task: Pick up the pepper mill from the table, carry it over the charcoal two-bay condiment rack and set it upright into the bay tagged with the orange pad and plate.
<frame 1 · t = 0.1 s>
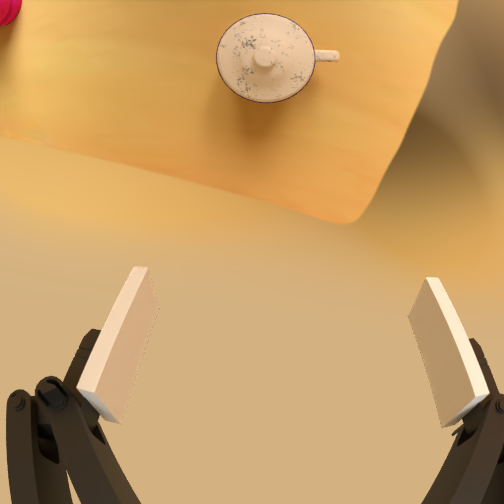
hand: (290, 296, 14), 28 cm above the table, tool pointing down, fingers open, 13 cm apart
pepper mill: (10, 7, 23), on the table
teacup with lid: (279, 57, 31), on the table
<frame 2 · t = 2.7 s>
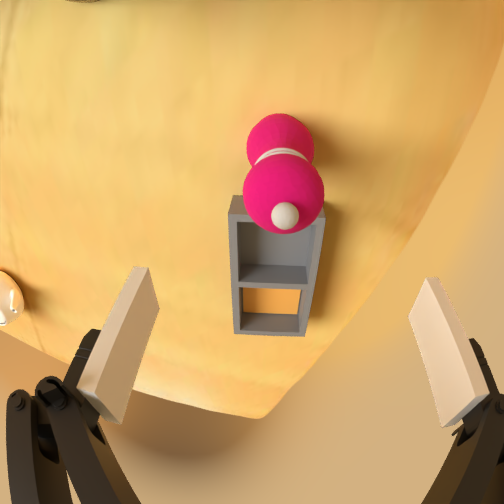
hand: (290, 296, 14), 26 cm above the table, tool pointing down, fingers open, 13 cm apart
pepper mill: (279, 137, 35), on the table
condiment rack: (273, 263, 46), on the table
teapot: (10, 285, 56), on the table
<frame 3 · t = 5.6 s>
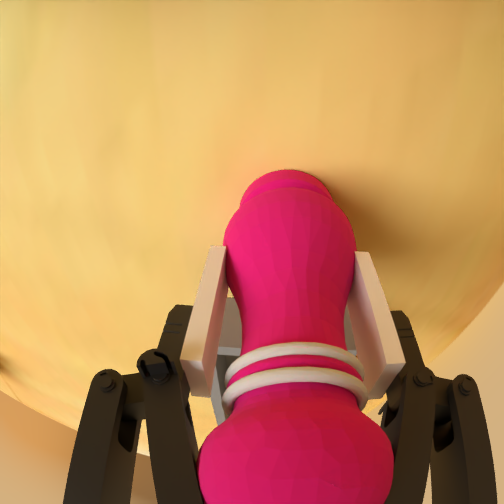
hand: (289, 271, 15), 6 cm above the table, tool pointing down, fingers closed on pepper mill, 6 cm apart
pepper mill: (286, 211, 20), on the table, touching gripper
condiment rack: (272, 371, 31), on the table
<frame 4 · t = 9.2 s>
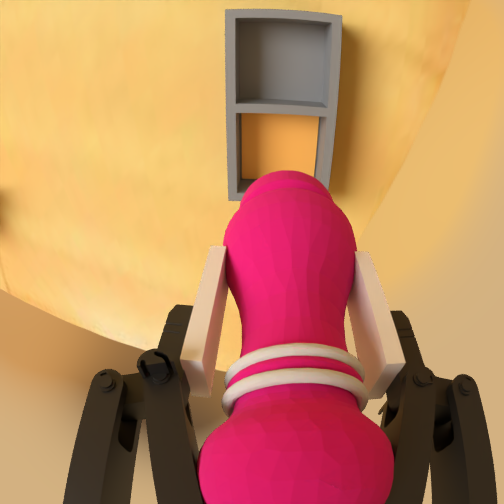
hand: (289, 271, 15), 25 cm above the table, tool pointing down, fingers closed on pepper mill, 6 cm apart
pepper mill: (286, 211, 20), point 19 cm above the table, touching gripper
condiment rack: (280, 102, 33), on the table
when the fingers open (9 cm above the table, at t = 13.2 s): pepper mill drops 2 cm, resting on condiment rack.
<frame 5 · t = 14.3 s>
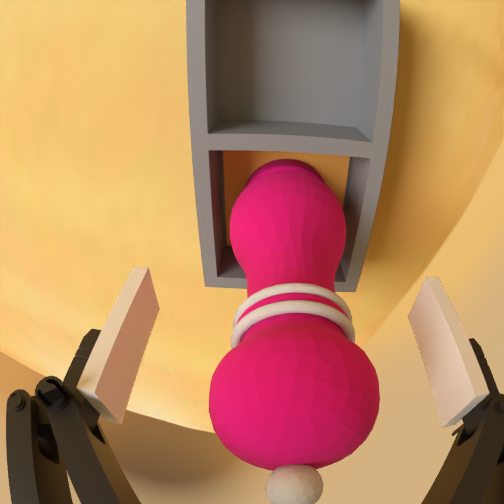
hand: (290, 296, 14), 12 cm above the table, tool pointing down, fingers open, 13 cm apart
pepper mill: (285, 196, 23), point 1 cm above the table, touching condiment rack
condiment rack: (287, 125, 21), on the table
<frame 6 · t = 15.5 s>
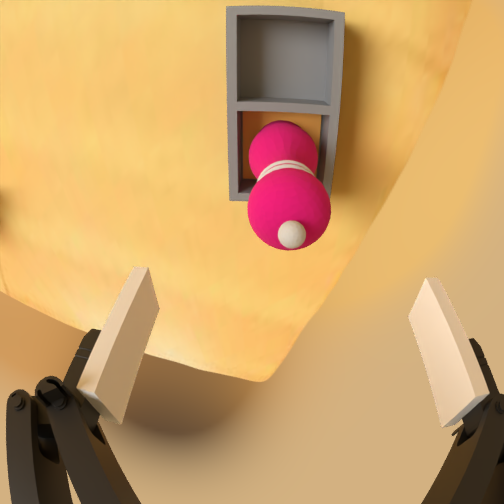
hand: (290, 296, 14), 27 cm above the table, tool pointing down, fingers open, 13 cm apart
pepper mill: (281, 144, 35), point 1 cm above the table, touching condiment rack
condiment rack: (282, 100, 33), on the table
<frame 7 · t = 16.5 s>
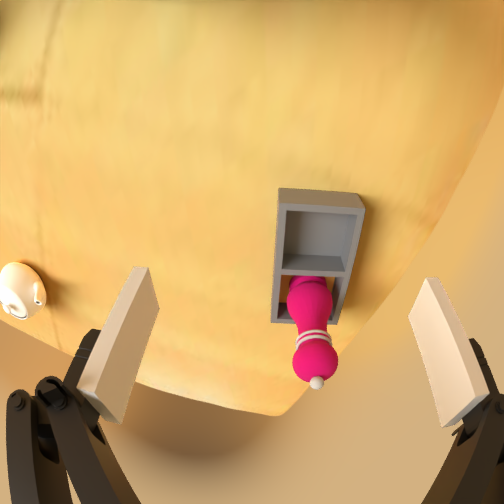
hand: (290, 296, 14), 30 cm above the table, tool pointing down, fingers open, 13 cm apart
pepper mill: (307, 283, 51), point 1 cm above the table, touching condiment rack
condiment rack: (310, 253, 49), on the table
teapot: (31, 279, 58), on the table
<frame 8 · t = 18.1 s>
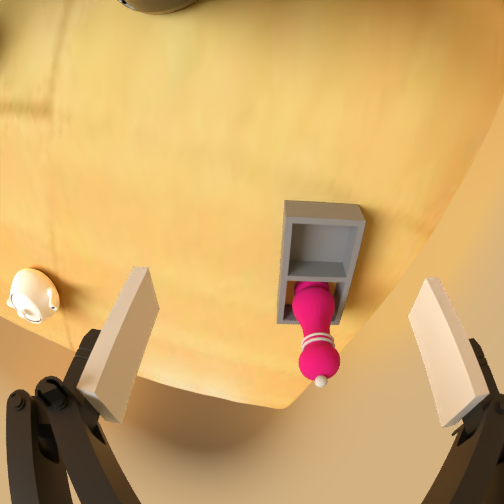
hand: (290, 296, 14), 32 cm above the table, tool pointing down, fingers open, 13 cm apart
pepper mill: (311, 286, 54), point 1 cm above the table, touching condiment rack
condiment rack: (314, 259, 52), on the table
teapot: (44, 283, 62), on the table
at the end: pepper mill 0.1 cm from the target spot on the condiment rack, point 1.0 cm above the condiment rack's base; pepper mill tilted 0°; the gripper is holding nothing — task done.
